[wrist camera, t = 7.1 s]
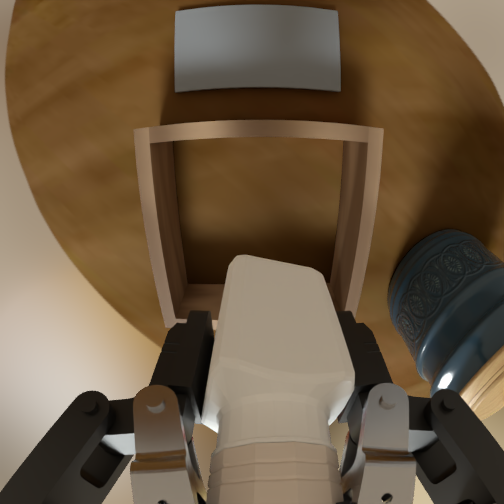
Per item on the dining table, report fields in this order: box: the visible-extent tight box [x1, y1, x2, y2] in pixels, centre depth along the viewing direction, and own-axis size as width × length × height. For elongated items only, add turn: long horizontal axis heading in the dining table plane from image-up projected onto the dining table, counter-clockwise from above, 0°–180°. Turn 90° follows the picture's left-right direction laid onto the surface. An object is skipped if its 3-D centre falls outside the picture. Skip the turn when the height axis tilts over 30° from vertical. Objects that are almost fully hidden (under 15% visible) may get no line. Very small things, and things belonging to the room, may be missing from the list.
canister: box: [388, 229, 504, 420], centre depth 17 cm, size 13×13×18 cm
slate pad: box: [175, 5, 341, 93], centre depth 16 cm, size 12×7×1 cm, turn 91°
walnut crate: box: [134, 120, 383, 330], centre depth 20 cm, size 15×15×5 cm
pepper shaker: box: [201, 255, 355, 504], centre depth 8 cm, size 4×4×10 cm
